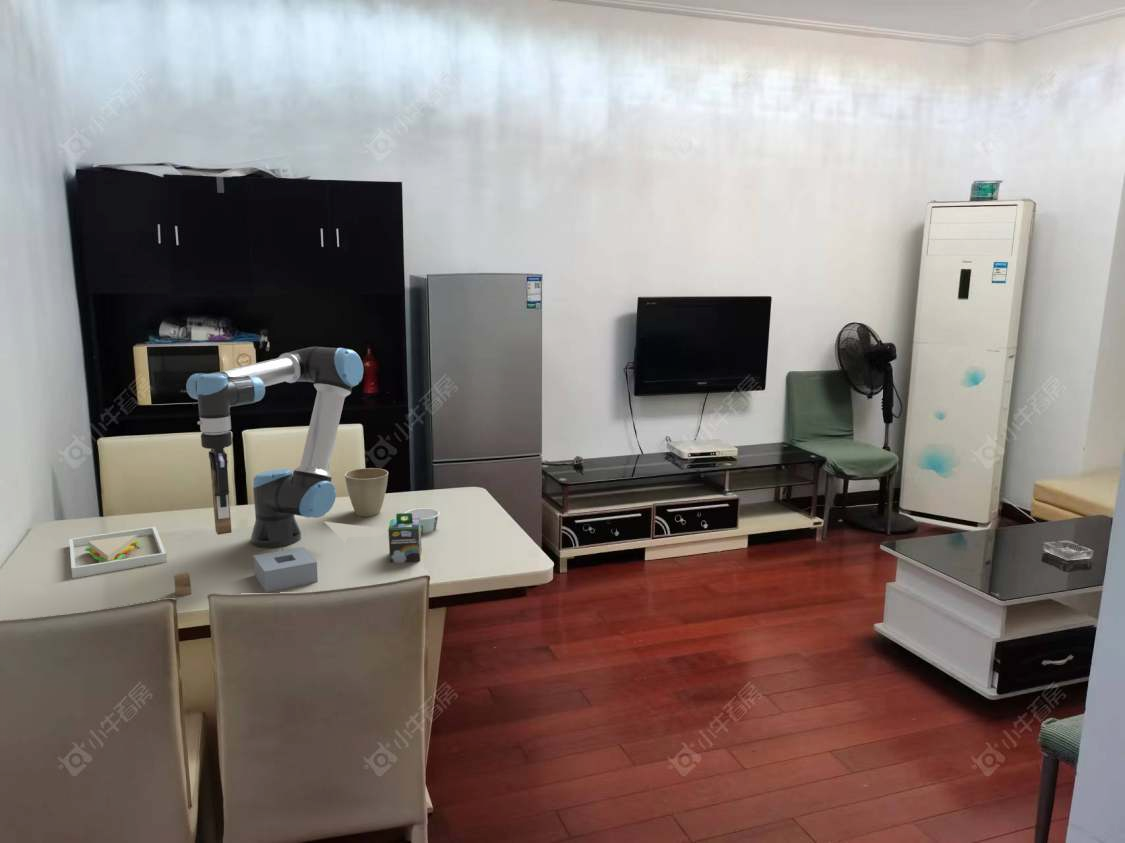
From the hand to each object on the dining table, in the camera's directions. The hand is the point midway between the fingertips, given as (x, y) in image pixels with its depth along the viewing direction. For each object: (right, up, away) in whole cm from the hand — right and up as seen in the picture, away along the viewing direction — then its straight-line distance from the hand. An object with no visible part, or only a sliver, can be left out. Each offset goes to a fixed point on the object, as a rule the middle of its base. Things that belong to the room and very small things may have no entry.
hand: (222, 515), depth 216 cm
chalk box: (+45, -16, +25) cm, 54 cm away
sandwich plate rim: (-43, -15, +25) cm, 51 cm away
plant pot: (+24, -8, +65) cm, 70 cm away
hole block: (+14, -19, +8) cm, 25 cm away
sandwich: (-43, -16, +21) cm, 51 cm away
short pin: (-10, -21, -2) cm, 23 cm away
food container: (+46, -12, +50) cm, 69 cm away
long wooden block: (0, -5, +1) cm, 5 cm away
